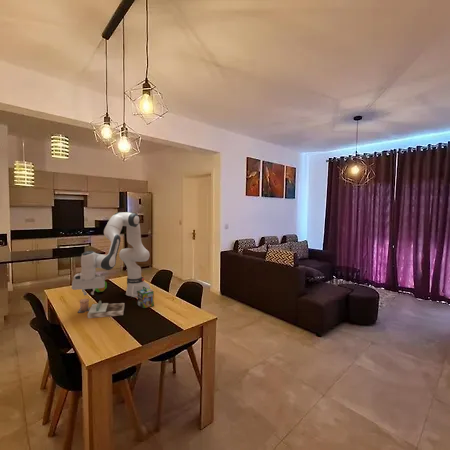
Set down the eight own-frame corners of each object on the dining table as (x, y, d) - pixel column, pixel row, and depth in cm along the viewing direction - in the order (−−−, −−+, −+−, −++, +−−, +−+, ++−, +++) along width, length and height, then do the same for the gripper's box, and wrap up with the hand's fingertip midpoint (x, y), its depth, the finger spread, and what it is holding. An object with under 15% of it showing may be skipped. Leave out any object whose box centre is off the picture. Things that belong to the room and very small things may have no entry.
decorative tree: (98, 280, 220) (89, 271, 243) (93, 293, 218) (84, 283, 241) (111, 283, 227) (102, 274, 250) (106, 296, 226) (97, 285, 248)
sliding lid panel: (108, 303, 193) (108, 299, 193) (105, 312, 179) (105, 307, 179) (92, 305, 190) (92, 300, 190) (88, 313, 176) (88, 309, 176)
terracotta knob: (89, 307, 193) (89, 298, 193) (88, 310, 188) (88, 301, 187) (80, 308, 191) (80, 299, 191) (79, 311, 186) (78, 302, 185)
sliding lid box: (124, 307, 197) (124, 302, 197) (123, 315, 183) (122, 311, 182) (92, 310, 190) (91, 305, 190) (87, 319, 176) (87, 314, 176)
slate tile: (90, 308, 194) (90, 307, 194) (88, 312, 187) (88, 311, 187) (80, 309, 192) (80, 308, 192) (77, 312, 185) (77, 312, 185)
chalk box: (154, 305, 202) (154, 287, 200) (142, 309, 195) (142, 289, 194) (148, 302, 208) (148, 284, 207) (137, 305, 202) (137, 286, 201)
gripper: (105, 273, 187) (105, 292, 188) (73, 274, 181) (73, 294, 182) (104, 275, 181) (104, 295, 182) (70, 277, 175) (71, 297, 176)
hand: (88, 294), depth 182 cm, fingers open, 3 cm apart
